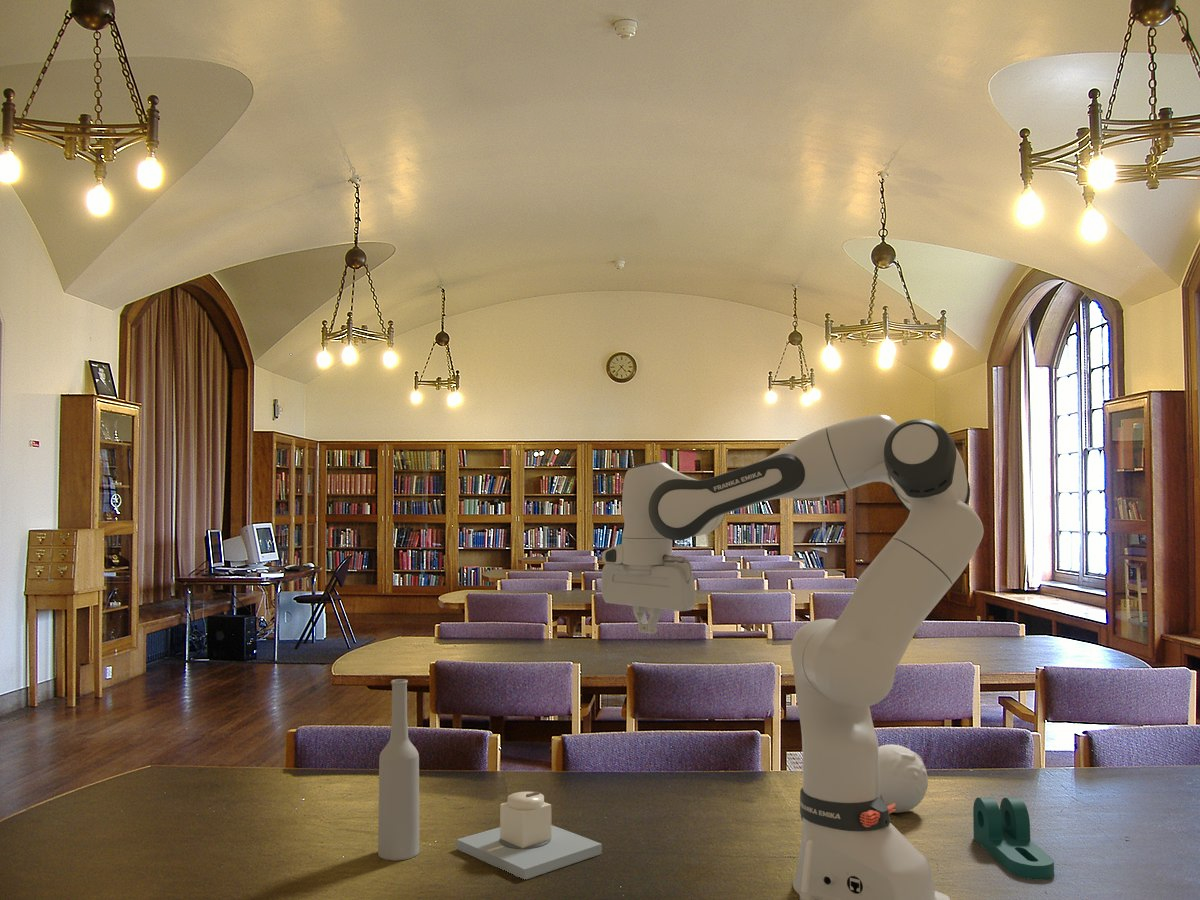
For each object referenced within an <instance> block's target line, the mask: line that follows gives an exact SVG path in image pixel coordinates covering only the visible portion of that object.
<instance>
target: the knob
mask: <svg viewBox="0 0 1200 900" xmlns="http://www.w3.org/2000/svg"><path fill="white" fill-rule="evenodd" d="M499 806H500V807H499V810H500V811H499V814H500V815H499V816H500V819H499V827H500V839H502V840H505V841H507V842H510V843H512V844H514V845H517V846H519V847H521V848H524V847H528V846H531V845H534V844H537V843H541V842H544V841H547V840H550V839H551V825H552V804H551V803H548V802H545V795H544V794H542V793H541V792H539V791H517V792H514V793H510V794H509V795H508V796H507V802H502V803H501V804H499Z"/></svg>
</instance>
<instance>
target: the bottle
mask: <svg viewBox="0 0 1200 900" xmlns="http://www.w3.org/2000/svg"><path fill="white" fill-rule="evenodd" d="M408 682H409V681H408V679H403V678H397V679H391V681H390V684H391V689H392V690H391V723H390V724H391V725H390V737H389V740H388V742H387V743H386V745H385V746H384V748H382V750H381V751H380V753H379V758H378V759H379V761H378V762H379V763H378V765H379V767H378V815H377V816H378V819H377V820H378V821H377V824H378V826H377V832H378V833H377V836H378V837H377V843H378V844H377V849H378V850H377V855H378V857H379V858H380V859H381V860H384V861H393V862H394V861H396V862H397V861H404V860H405V861H406V860H410V859H413V858H414V857H415V858H416V856H418V855H419V854H420V756H419V755H420V753H419V751H418V750H417V748H416V746H414V744H413V743H412V741H411V740H410V738H409V730H408V729H409V726H408V725H409V724H408V695H407V694H408V688H407V687H408Z"/></svg>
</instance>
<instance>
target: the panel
mask: <svg viewBox="0 0 1200 900" xmlns="http://www.w3.org/2000/svg"><path fill="white" fill-rule="evenodd" d="M456 850H458V851H460V852H463V853H465V854H467V855H468V856H470V857H474V858H476V859H477V860H480V861H482V862H484V863H486V864H489V865H491V866H493V867H496V868H497V867H498V868H497V869H499V868H500V869H499V870H501V869H502V871H504V870H505V871H504V872H506V871H507V872H506V873H508V872H509V874H510V873H511V874H510V875H512V874H513V876H515V877H516V878H519V877H520V878H519V879H521V878H522V880H523V879H524V880H523V881H526V880H529V879H532V878H535V877H538V876H540V875H544V874H547V873H549V872H553V871H556V870H558V869H562V868H565V867H568V866H571V865H573V864H576V863H579V862H582V861H585V860H588V859H591V858H593V857H597V856H600V855H602V854H603V844H602V843H601V842H597V841H595V840H594V839H593V840H592V839H590V838H588V837H585V836H583V835H582V836H581V835H580V834H576V833H575V832H572V831H569V830H566V829H563V828H561V827H558V826H557V825H556V826H555V825H553V824H551V839H550V840H547V841H544V842H541V843H537V844H534V845H531V846H528V847H524V848H521V847H519V846H517V845H514V844H512V843H510V842H507V841H505V840H502V839H500V826H498V827H496V828H492V829H488V830H485V831H482V832H481V831H480V832H479V833H475V834H471V835H468V836H464V837H460V838H457V839H456ZM525 879H526V880H525Z"/></svg>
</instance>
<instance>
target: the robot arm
mask: <svg viewBox="0 0 1200 900" xmlns="http://www.w3.org/2000/svg"><path fill="white" fill-rule="evenodd" d="M874 482H875V483H877V482H880V483H885V484H887V485H889V486H891V491H892V494H894V495H895V497H896V499H897V500H898V501H899V502H900V503H901V505H902V506H903V507H904V509H905V510H906V511H907V513H908V517H907V518H906V520H905V521H904V523H903V524H902V526H901V527H900V528H899V529H898V530H897V532H896V533H895V534H894V535H893V536H892V537H891V538H890V540H889V541H888V542H887V543H886V544H885V546H884V547H883V548H882V549H881V550H880V551H879V553H878V554H877V555H876V556H875V557H874V559H873V560H872V561H871V562H870V564H868V566H867V567H866V568H865V569H864V570H863V572H862V573H861V574H860V575H859V577H858V578H857V581H856V586H855V588H854V591H853V593H852V595H851V597H850V599H849V600H848V602H847V604H846V606H845V607H844V609H843V611H842V613H841V614H840V615H839V617H838V618H837V619H834V618H821V619H815V620H812V621H810V622H807V623H805V624H803V625H802V626H801V627H800V628H799V629H798V630H796V632H795V633H794V636H793V638H792V640H791V645H790V656H791V660H792V661H791V662H792V666H793V676H794V677H793V678H794V679H793V680H794V686H795V695H796V701H797V702H796V704H797V711H798V717H799V723H800V731H801V733H800V734H801V746H802V748H801V749H802V757H801V758H802V787H801V788H800V791H799V814H800V819H801V822H802V823H801V838H800V848H799V854H798V855H799V856H798V861H797V865H796V871H795V874H794V878H793V881H792V888H793V889H794V891H795V893H797V894H798V895H799V900H951V898H950V896H948V895H947V894H945V893H942V892H941V891H937V890H935V883H934V877H933V871H932V869H931V868H932V867H931V865H930V863H929V861H928V858H927V857H926V856H925V855H923V854H922V853H921V852H920V851H919V850H918V848H916V847H915V846H914V845H913V844H912V843H911V842H910V841H909V840H908V839H907V838H906V837H905V836H904V835H903V834H902V833H901V832H900V831H899V830H898V829H897V828H896V827H895V825H893V824H892V823H891V817H890V816H891V815H890V814H892V813H893V812H894V811H896V809H894V810H892V808H894V807H895V806H896V804H895V803H894V804H891V805H889V806H886V804H885V802H884V800H883V797H882V795H881V794H880V792H879V755H878V747H879V740H878V735H877V733H876V730H875V727H874V721H873V717H872V713H871V707H872V706H875V705H877V704H879V703H880V702H882V701H884V699H885V698H886V697H887V696H888V695H889V693H890V692H891V691H892V688H893V685H894V683H895V678H896V670H897V668H898V666H899V664H900V662H901V660H902V658H903V656H904V655H905V653H906V652H907V651H906V650H907V649H908V647H909V644H911V641H912V640H913V637H914V636H915V634H916V632H917V631H918V629H919V628H920V626H921V625H922V624H923V622H924V621H925V620H926V618H927V617H928V615H929V614H930V613H931V612H932V611H933V609H935V607H936V606H937V605H938V604H939V602H940V601H941V600H942V599H943V597H944V596H945V595H946V594H947V592H948V591H949V590H950V589H951V588H952V586H953V585H954V584H955V582H957V580H958V579H959V578H960V576H961V575H962V573H963V572H964V570H966V568H967V566H968V565H969V563H970V562H971V560H972V558H973V556H974V555H975V553H976V551H977V550H978V547H979V546H980V543H981V542H982V540H983V537H984V533H985V530H984V525H983V522H982V520H981V518H980V516H979V515H978V513H977V512H976V511H975V510H974V509H973V508H972V507H971V506H970V505H969V503H970V499H971V498H970V497H971V486H970V485H971V484H970V482H969V479H968V477H967V473H966V467H965V463H964V460H963V458H962V455H961V454H960V452H959V450H958V448H957V447H956V444H955V441H954V439H953V437H952V436H951V434H949V433H948V430H946V429H945V428H944V427H942V426H941V425H940V424H938V423H936V422H934V421H932V420H929V419H921V418H919V419H918V418H917V419H911V420H908V421H905V422H903V423H900V424H899V423H898V422H897V421H896V420H895V419H894V418H892V417H891V416H890V415H889V416H888V415H886V414H872V415H867V416H866V415H865V416H861V417H857V418H852V419H849V420H845V421H841V422H837V423H834V424H832V425H829V426H827V427H823V428H820V429H818V430H816V431H815V430H814V431H813V432H811V433H808V434H807V435H805V436H802V437H801V438H799V439H797V440H795V441H793V442H792V443H790V444H788V445H786V446H784V447H783V448H780V449H779V450H777V451H775V452H774V453H772V454H770V455H769V456H765V458H763V459H760V460H759V461H757V462H754V463H751V464H748V465H746V466H743V467H739V468H736V469H733V470H730V471H728V472H727V471H726V472H725V473H721V474H718V475H716V476H712V477H709V478H705V479H696V478H693V477H690V476H688V475H686V474H684V473H681V472H679V471H678V470H676V469H674V468H672V467H671V466H670V465H669V464H668V463H667V462H663V461H653V462H645V463H640V464H636V465H634V466H632V467H630V468H629V469H628V470H627V471H626V473H625V475H624V479H623V485H622V497H621V498H622V499H621V502H622V503H621V514H622V518H623V523H624V524H623V525H624V527H623V531H622V535H621V537H622V538H621V543H619V544H617V545H615V546H612V547H610V548H608V549H606V550H604V551H603V552H601V553H602V554H601V560H602V562H603V563H605V564H604V565H603V567H602V571H601V582H600V583H601V584H600V585H601V597H602V599H603V601H604V602H605V604H612V605H613V604H614V605H621V606H630V607H632V611H633V615H634V617H635V619H636V621H637V624H638V625H637V628H638V629H637V631H638V633H641V634H649V635H653V634H656V633H657V631H658V629H657V628H658V623H659V620H660V619H661V616H662V614H663V610H666V611H674V612H675V611H676V612H687V611H692V610H693V609H694V608H695V606H696V602H697V601H696V599H697V598H696V589H695V580H694V576H693V566H692V563H690V561H689V560H688V559H687V558H686V557H685V556H682V555H679V556H677V555H673V541H685V540H687V539H690V538H694V537H699V536H704V535H708V534H709V533H712V532H713V531H714V530H716V529H717V528H719V527H720V526H721V524H722V523H723V521H724V519H725V516H726V514H728V513H731V512H732V513H733V512H735V511H737V510H740V509H743V508H746V507H749V506H753V505H755V504H759V503H761V502H766V501H770V500H771V501H772V500H779V499H814V498H823V497H828V496H831V495H832V496H833V495H837V494H840V493H843V492H847V491H850V490H852V489H855V488H858V487H861V486H863V485H866V484H867V485H868V484H870V483H874ZM646 612H647V614H648V615H649V618H648V619H647V614H646Z"/></svg>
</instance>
